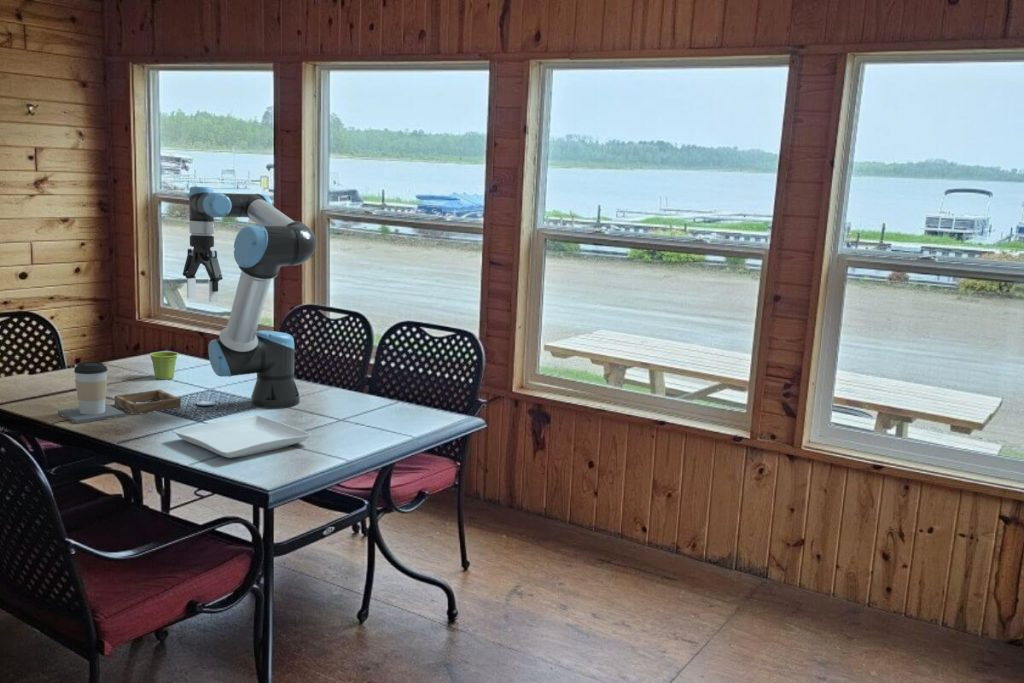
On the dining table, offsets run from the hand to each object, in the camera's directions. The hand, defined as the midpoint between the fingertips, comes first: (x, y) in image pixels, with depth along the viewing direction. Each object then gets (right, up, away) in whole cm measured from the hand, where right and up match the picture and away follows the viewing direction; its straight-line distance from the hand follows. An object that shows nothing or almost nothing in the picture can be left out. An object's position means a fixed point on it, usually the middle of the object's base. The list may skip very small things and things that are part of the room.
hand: (202, 300), depth 298 cm
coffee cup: (-23, -35, -28) cm, 50 cm away
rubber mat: (-24, -36, -28) cm, 51 cm away
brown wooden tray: (-12, -34, -16) cm, 39 cm away
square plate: (+27, -42, -48) cm, 69 cm away
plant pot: (-21, -27, +22) cm, 41 cm away
